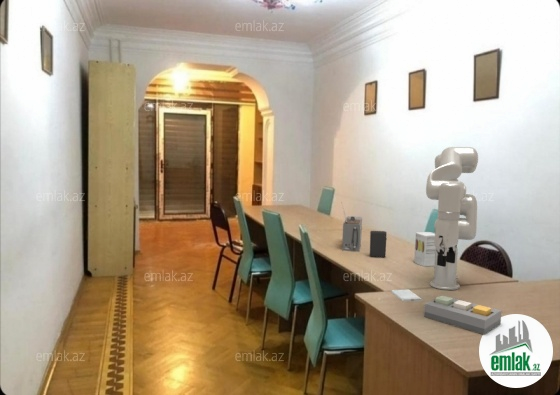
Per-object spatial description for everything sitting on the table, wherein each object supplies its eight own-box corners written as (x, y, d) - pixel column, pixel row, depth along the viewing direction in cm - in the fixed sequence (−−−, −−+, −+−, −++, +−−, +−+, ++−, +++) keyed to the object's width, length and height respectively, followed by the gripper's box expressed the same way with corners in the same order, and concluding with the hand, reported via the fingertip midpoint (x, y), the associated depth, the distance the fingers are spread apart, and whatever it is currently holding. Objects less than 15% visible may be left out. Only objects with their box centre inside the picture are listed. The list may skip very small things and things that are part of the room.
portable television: (361, 244, 296) (363, 198, 293) (359, 252, 273) (361, 202, 270) (343, 243, 299) (344, 197, 296) (339, 250, 276) (341, 201, 273)
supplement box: (413, 262, 249) (414, 232, 247) (427, 261, 252) (429, 231, 250) (424, 266, 240) (425, 235, 238) (438, 265, 243) (440, 234, 241)
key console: (442, 307, 177) (442, 295, 177) (500, 324, 162) (501, 310, 161) (424, 316, 168) (424, 303, 167) (484, 334, 152) (485, 320, 151)
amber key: (477, 311, 162) (478, 304, 162) (491, 315, 159) (491, 308, 159) (472, 314, 159) (472, 307, 159) (485, 318, 156) (486, 311, 156)
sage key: (441, 301, 173) (441, 295, 172) (452, 304, 169) (453, 298, 169) (435, 304, 169) (435, 298, 169) (446, 307, 166) (447, 301, 166)
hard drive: (391, 290, 196) (403, 299, 184) (408, 289, 198) (422, 298, 186) (391, 293, 197) (403, 303, 184) (408, 292, 198) (422, 302, 186)
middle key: (458, 306, 168) (459, 300, 167) (471, 309, 164) (471, 303, 164) (453, 309, 164) (453, 302, 164) (465, 312, 161) (466, 306, 161)
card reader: (385, 256, 262) (386, 230, 261) (386, 258, 259) (387, 232, 257) (369, 255, 264) (370, 230, 262) (369, 257, 260) (370, 231, 259)
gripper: (449, 213, 174) (447, 258, 176) (427, 217, 162) (424, 266, 164) (469, 215, 169) (466, 262, 171) (447, 219, 157) (444, 270, 159)
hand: (446, 263), depth 168 cm, fingers open, 6 cm apart
